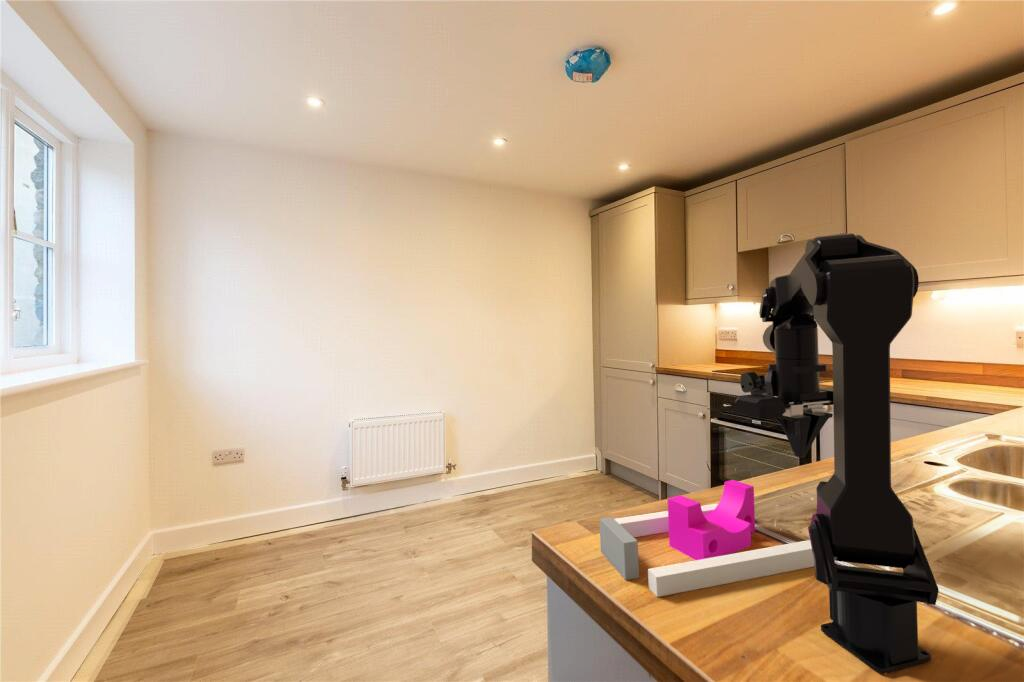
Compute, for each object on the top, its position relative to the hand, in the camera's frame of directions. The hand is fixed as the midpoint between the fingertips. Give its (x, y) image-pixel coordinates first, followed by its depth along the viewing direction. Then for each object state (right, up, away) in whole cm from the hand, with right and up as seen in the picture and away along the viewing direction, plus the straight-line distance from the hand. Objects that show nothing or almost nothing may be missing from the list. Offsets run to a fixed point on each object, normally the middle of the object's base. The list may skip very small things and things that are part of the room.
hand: (799, 456), depth 69 cm
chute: (-18, -13, -4) cm, 22 cm away
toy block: (-13, -13, -1) cm, 19 cm away
